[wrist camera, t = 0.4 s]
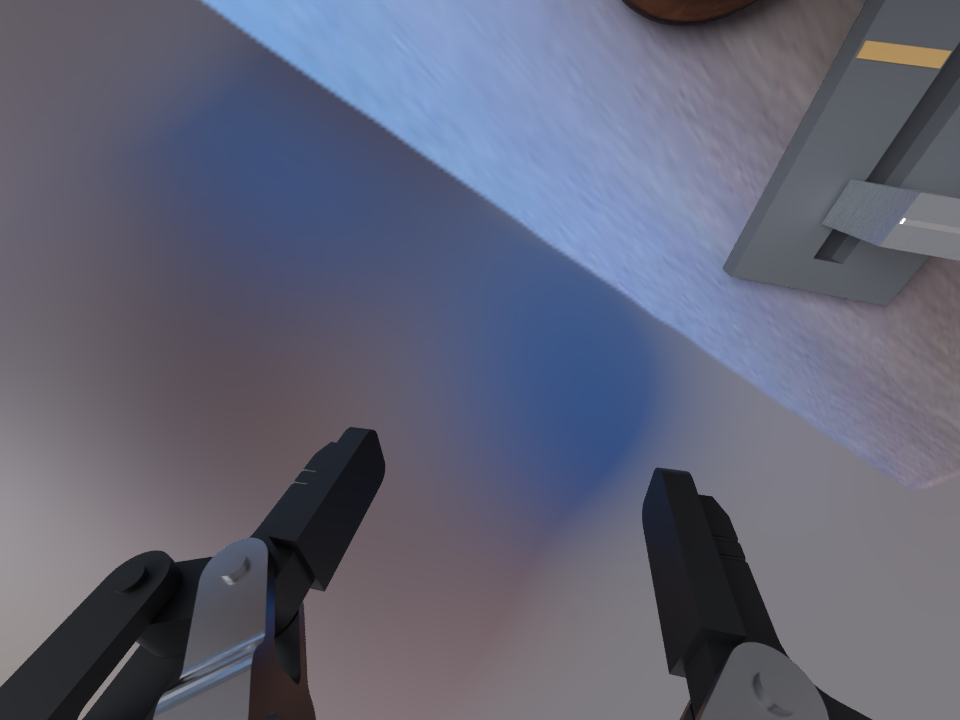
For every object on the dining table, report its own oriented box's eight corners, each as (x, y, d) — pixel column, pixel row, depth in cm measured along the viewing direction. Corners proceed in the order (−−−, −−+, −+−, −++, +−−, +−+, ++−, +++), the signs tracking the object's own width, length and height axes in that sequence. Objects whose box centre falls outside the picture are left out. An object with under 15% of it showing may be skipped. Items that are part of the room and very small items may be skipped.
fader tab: (838, 176, 26) (922, 192, 20) (904, 187, 25) (1011, 207, 19) (811, 219, 27) (880, 246, 21) (872, 230, 27) (961, 261, 21)
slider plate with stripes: (936, -129, 19) (973, -155, 17) (1201, -109, 18) (1269, -134, 16) (722, 268, 31) (731, 276, 30) (869, 296, 30) (887, 306, 28)
